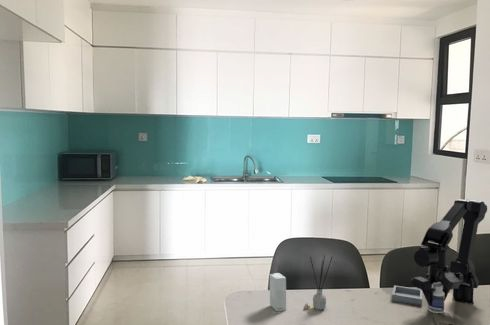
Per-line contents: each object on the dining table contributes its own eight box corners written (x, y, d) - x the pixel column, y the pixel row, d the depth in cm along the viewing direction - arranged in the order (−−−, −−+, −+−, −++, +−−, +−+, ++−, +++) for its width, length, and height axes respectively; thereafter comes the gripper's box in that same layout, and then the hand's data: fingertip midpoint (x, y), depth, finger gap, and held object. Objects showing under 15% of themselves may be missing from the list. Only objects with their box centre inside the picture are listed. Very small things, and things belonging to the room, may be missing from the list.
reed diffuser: (328, 305, 148) (330, 252, 147) (334, 313, 141) (336, 258, 140) (302, 306, 147) (303, 253, 146) (307, 314, 140) (308, 259, 139)
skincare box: (286, 310, 143) (287, 277, 143) (275, 312, 142) (276, 279, 141) (279, 303, 149) (280, 272, 149) (268, 305, 148) (269, 273, 147)
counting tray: (422, 295, 158) (422, 289, 158) (421, 305, 149) (422, 299, 148) (394, 291, 163) (394, 285, 162) (391, 300, 153) (392, 294, 153)
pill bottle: (445, 314, 141) (447, 288, 140) (429, 313, 142) (430, 286, 141) (441, 308, 146) (442, 282, 146) (426, 307, 147) (426, 281, 147)
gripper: (435, 271, 132) (433, 317, 133) (476, 266, 139) (474, 309, 140) (410, 262, 143) (409, 304, 144) (450, 257, 149) (448, 297, 150)
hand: (436, 304), depth 144 cm, fingers closed on pill bottle, 5 cm apart
